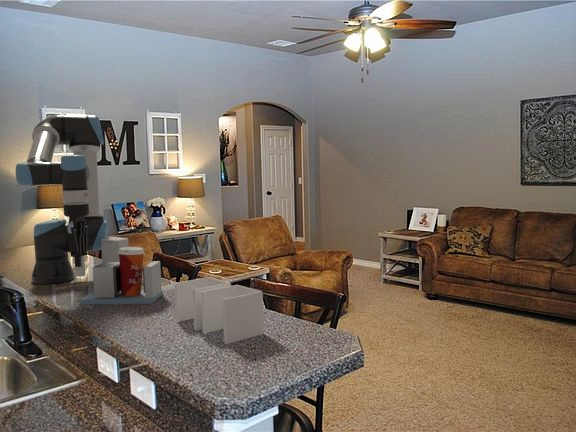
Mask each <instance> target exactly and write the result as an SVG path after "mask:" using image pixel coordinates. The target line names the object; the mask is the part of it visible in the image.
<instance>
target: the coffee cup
mask: <svg viewBox="0 0 576 432" xmlns="http://www.w3.org/2000/svg"><path fill="white" fill-rule="evenodd" d="M118 254H119V262H120V280H121V294H122V295H123V296H138V295H140V294H141V290H142V285H143V283H142V280H143V268H144V254H145V251H144V248H143V247H141V246H140V247H139V246H129V247H123V248H120V249H119V252H118Z"/></svg>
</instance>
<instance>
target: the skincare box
mask: <svg viewBox="0 0 576 432" xmlns="http://www.w3.org/2000/svg"><path fill="white" fill-rule="evenodd" d="M101 240H102V250H101V264H102V263H104V262H119V254H118V252H119V249H120V248H123V247H130V246H129V238H127V237H119V236H118V237H117V236H109V237H108V236H107V238H104V239H101Z"/></svg>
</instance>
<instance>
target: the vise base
mask: <svg viewBox="0 0 576 432" xmlns="http://www.w3.org/2000/svg"><path fill="white" fill-rule="evenodd" d="M161 273H162V270H161V261H160V260H157V261H156V260H155V261H154V260H152V261H151V262H149V263H148V264H146V265H145V266H144V265H143V269H142V280H143V289H141V294H140V295H138V296H123V295H122V294H119V295H118V296H116V297H115V298H94V291H91V293H89V294H87V295H86V296H84V297H82V298H80V299H79V305H80V306H81V305H83V306H87V305H90V304H93V305H137V304H138V305H142V304H143V305H145V304H146V305H147V304H148V305H149V304H151V305H152V304H153V303H155V302H156V301H157V300H159V298H160V297H161V296H163V295H164V293H163V292H164V291H163V289H162V275H161Z"/></svg>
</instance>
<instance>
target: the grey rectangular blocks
mask: <svg viewBox="0 0 576 432" xmlns="http://www.w3.org/2000/svg"><path fill="white" fill-rule="evenodd" d="M263 297H264V296H263V291H261V290H258V289H256V288H255V289H254V288H250V287H247V286H243V285H239V284H235V285H232V283H231V282H228V281H225V280H222V279H218V278H213V277H211V276H207V277H203V278H201V277H200V278H195V279H191V280H184V281H180V282H179V281H178V282H174V306H175V307H174V308H175V311H174V312H175V322H176V323H177V324H179V323H180V322H184V321H188V320H192V319H193V330H194V331H195V330H196V331H195V332H198V331H202V335H207V334H208V333H212V332H217V331H221V330H223V343H224V344H225V345H228V344H229V345H230V344H232V343H235V342H236V343H237V342H239V341H243V340H246V339H250V338H254V337H257V336H261V335H264V302H263V300H264V298H263ZM220 329H221V330H220Z"/></svg>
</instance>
